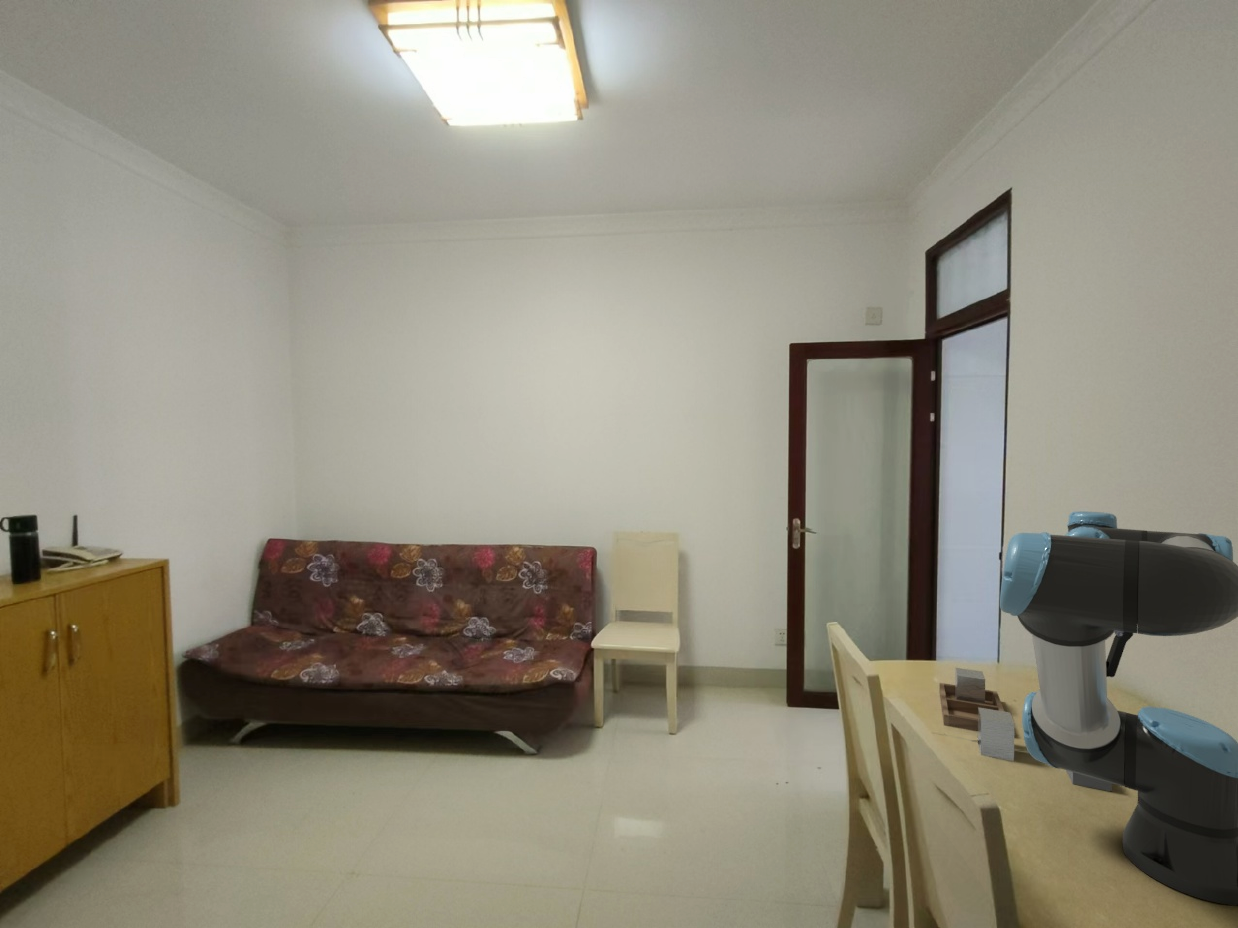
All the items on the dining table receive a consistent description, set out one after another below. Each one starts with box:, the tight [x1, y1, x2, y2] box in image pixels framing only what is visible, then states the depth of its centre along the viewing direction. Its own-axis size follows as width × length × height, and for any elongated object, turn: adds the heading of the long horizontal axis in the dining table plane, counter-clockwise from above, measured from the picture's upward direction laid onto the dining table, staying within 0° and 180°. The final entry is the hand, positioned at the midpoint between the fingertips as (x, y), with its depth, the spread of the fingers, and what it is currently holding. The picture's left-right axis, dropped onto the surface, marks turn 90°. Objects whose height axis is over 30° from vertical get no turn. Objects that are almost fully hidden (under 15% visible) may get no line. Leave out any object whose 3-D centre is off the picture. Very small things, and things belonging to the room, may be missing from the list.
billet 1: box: [954, 667, 986, 704], centre depth 148 cm, size 6×6×8 cm
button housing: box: [1065, 770, 1113, 792], centre depth 116 cm, size 6×6×3 cm
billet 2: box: [977, 707, 1015, 762], centre depth 127 cm, size 6×6×8 cm
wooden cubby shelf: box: [938, 682, 1005, 732], centre depth 144 cm, size 21×13×4 cm, turn 154°
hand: (1088, 708), depth 116 cm, fingers closed
